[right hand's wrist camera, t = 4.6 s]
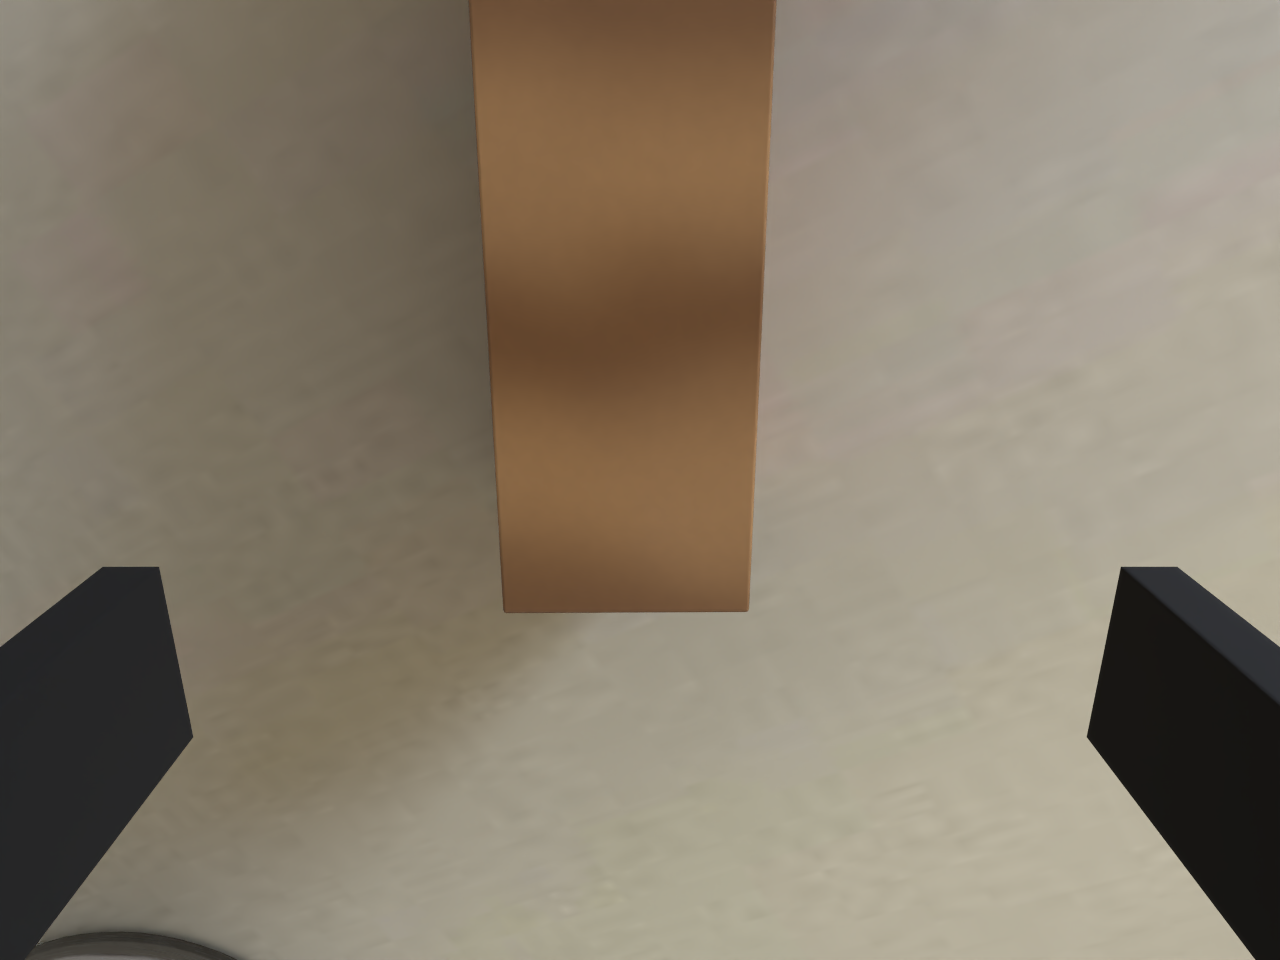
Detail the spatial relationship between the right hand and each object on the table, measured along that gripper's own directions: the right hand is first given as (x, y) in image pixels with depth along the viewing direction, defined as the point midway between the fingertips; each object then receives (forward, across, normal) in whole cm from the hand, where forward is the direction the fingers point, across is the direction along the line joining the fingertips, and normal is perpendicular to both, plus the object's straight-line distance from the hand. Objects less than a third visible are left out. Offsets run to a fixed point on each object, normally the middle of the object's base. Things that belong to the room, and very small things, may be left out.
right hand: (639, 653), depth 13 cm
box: (+16, 0, -9) cm, 18 cm away
